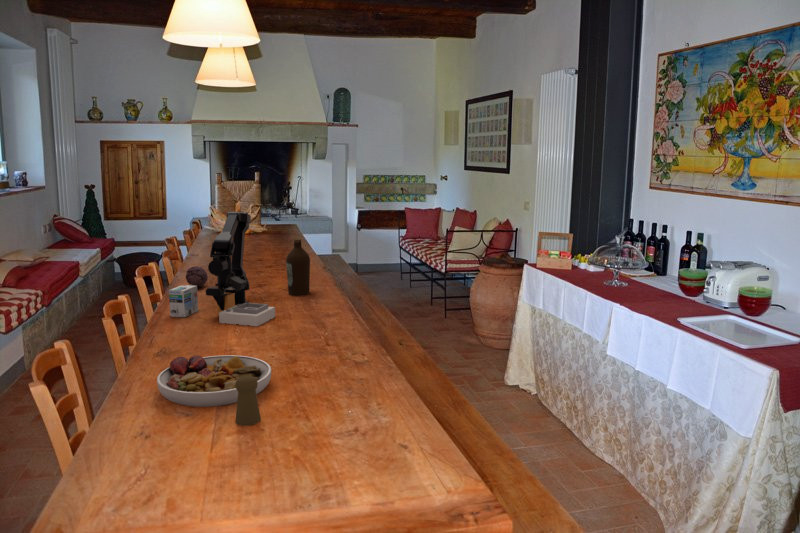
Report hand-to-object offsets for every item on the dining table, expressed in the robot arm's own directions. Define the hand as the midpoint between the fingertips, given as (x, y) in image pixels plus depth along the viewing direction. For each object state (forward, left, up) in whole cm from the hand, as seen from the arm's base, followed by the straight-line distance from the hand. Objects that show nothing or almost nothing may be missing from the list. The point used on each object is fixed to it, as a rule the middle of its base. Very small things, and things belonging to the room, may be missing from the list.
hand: (226, 308), depth 256 cm
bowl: (+72, +41, -3) cm, 83 cm away
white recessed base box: (+6, +13, -2) cm, 14 cm away
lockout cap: (0, 0, -2) cm, 2 cm away
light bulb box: (+5, -16, -2) cm, 17 cm away
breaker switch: (+6, +14, -1) cm, 16 cm away
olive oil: (-41, +12, -2) cm, 43 cm away
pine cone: (-39, -40, -2) cm, 56 cm away
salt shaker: (+88, +60, -2) cm, 107 cm away
